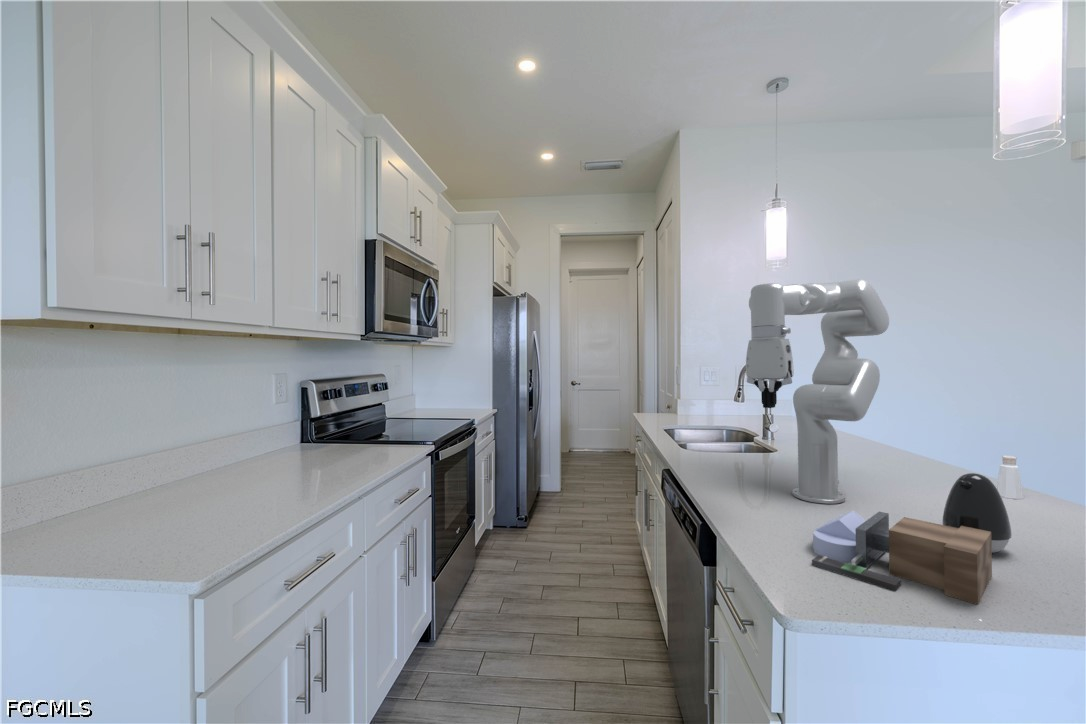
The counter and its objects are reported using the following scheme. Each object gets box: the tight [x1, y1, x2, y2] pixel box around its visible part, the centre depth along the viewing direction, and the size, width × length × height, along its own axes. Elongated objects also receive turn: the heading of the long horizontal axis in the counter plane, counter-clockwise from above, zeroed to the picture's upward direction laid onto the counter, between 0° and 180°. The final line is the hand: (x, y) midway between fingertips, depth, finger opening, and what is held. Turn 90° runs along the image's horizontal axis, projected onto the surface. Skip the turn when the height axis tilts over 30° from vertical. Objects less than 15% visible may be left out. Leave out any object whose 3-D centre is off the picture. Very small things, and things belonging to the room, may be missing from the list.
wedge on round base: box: [812, 510, 866, 564], centre depth 93 cm, size 9×7×13 cm
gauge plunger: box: [850, 511, 890, 570], centre depth 84 cm, size 18×10×7 cm, turn 129°
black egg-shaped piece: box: [942, 472, 1013, 554], centre depth 93 cm, size 10×10×15 cm
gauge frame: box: [811, 517, 993, 605], centre depth 84 cm, size 18×22×8 cm
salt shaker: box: [996, 455, 1024, 500], centre depth 125 cm, size 5×5×11 cm
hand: (769, 407), depth 114 cm, fingers closed
